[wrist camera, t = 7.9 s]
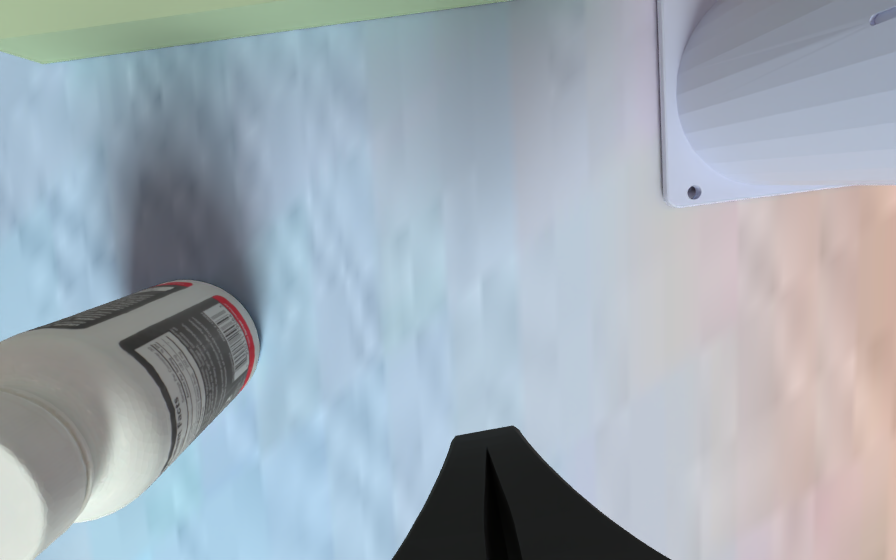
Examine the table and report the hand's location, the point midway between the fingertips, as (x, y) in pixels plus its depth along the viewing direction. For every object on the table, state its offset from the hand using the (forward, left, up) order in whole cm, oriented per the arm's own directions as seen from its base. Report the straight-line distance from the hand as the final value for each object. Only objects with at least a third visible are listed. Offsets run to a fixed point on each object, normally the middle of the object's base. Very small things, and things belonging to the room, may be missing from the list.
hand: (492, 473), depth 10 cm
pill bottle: (+11, -1, -10) cm, 15 cm away
